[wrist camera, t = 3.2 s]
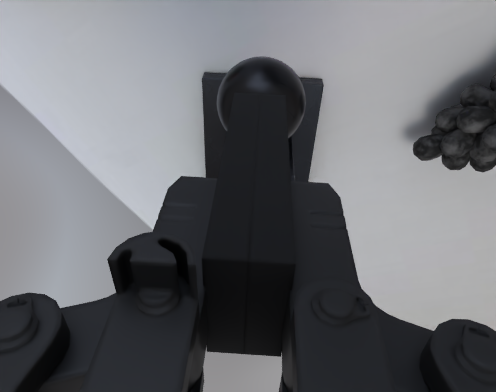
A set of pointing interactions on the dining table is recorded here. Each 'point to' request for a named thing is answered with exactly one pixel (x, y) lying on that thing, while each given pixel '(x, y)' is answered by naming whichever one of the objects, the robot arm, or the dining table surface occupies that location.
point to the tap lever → (263, 87)
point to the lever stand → (298, 141)
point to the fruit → (464, 131)
